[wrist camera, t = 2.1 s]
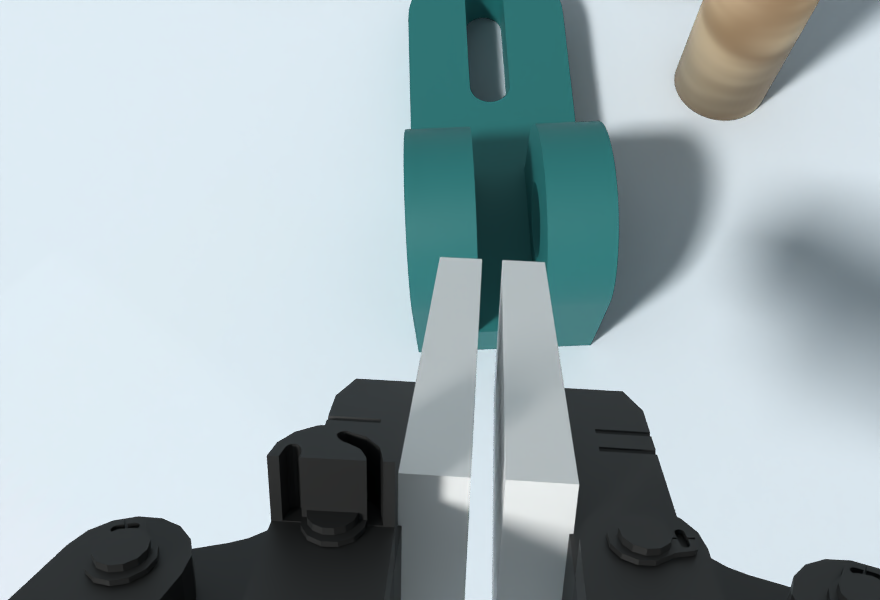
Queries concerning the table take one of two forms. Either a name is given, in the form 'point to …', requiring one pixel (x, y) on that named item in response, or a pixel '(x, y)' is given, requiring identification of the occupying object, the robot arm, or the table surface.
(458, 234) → the bracket
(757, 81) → the tan cylinder gray tip
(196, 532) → the table surface
